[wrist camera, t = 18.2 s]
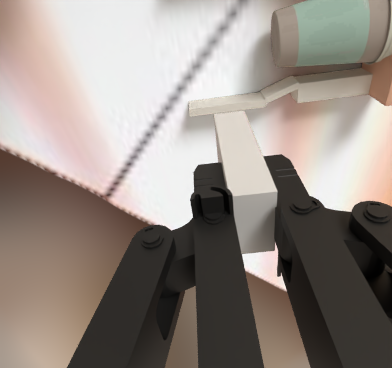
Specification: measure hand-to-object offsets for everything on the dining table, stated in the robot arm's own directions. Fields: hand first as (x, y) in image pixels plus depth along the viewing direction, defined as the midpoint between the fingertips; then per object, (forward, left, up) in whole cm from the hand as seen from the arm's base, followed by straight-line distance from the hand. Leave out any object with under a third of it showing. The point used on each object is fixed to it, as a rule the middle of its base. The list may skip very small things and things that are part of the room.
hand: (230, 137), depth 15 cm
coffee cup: (+8, 0, -23) cm, 24 cm away
